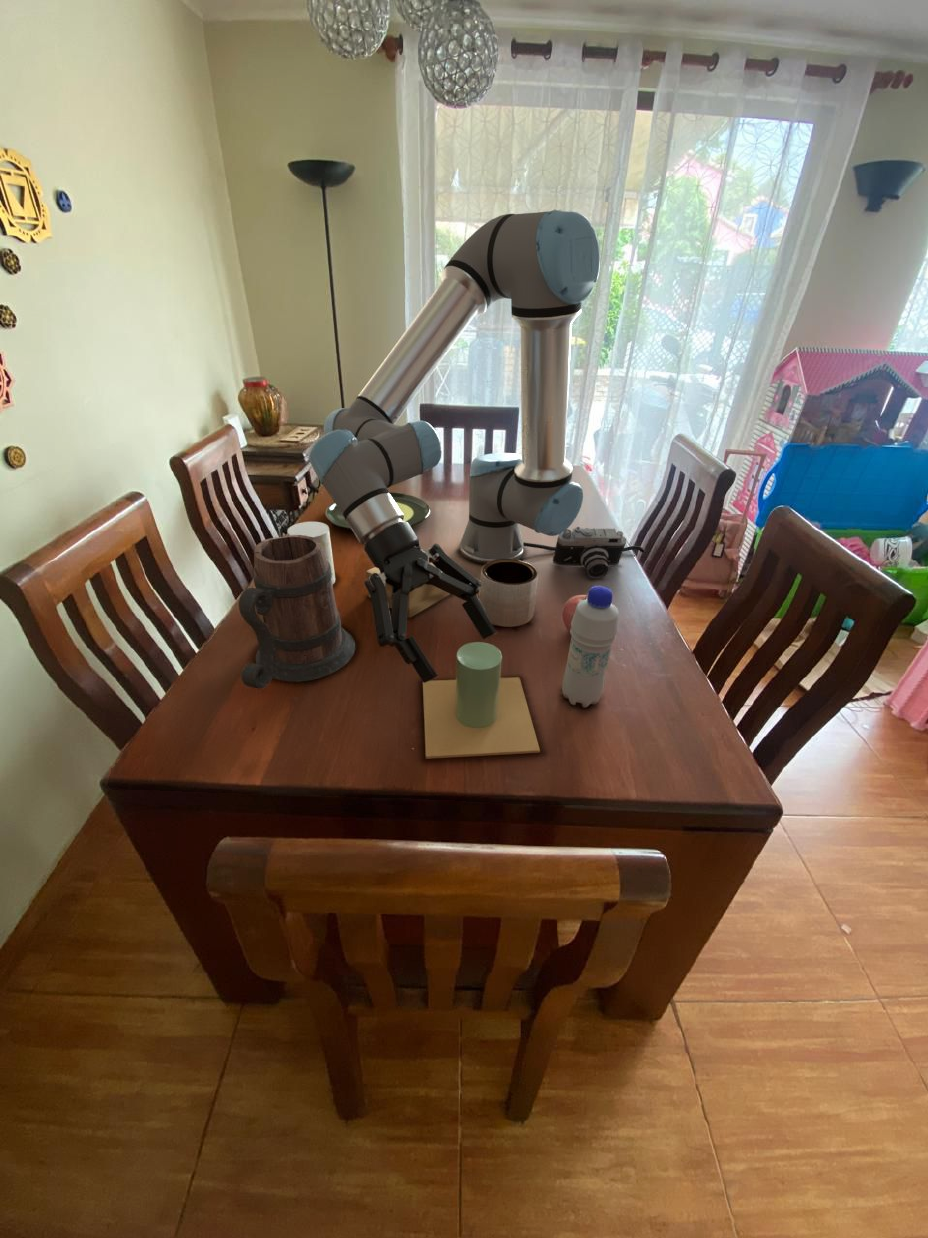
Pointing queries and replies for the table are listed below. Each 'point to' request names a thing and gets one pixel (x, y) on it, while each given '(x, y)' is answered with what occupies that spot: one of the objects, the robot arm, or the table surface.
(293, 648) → the tankard
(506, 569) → the planter
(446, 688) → the cork mat
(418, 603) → the plate
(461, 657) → the canister
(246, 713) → the table surface
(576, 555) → the camera
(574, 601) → the apple
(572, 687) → the bottle
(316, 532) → the cup
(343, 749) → the table surface
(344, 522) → the plate
